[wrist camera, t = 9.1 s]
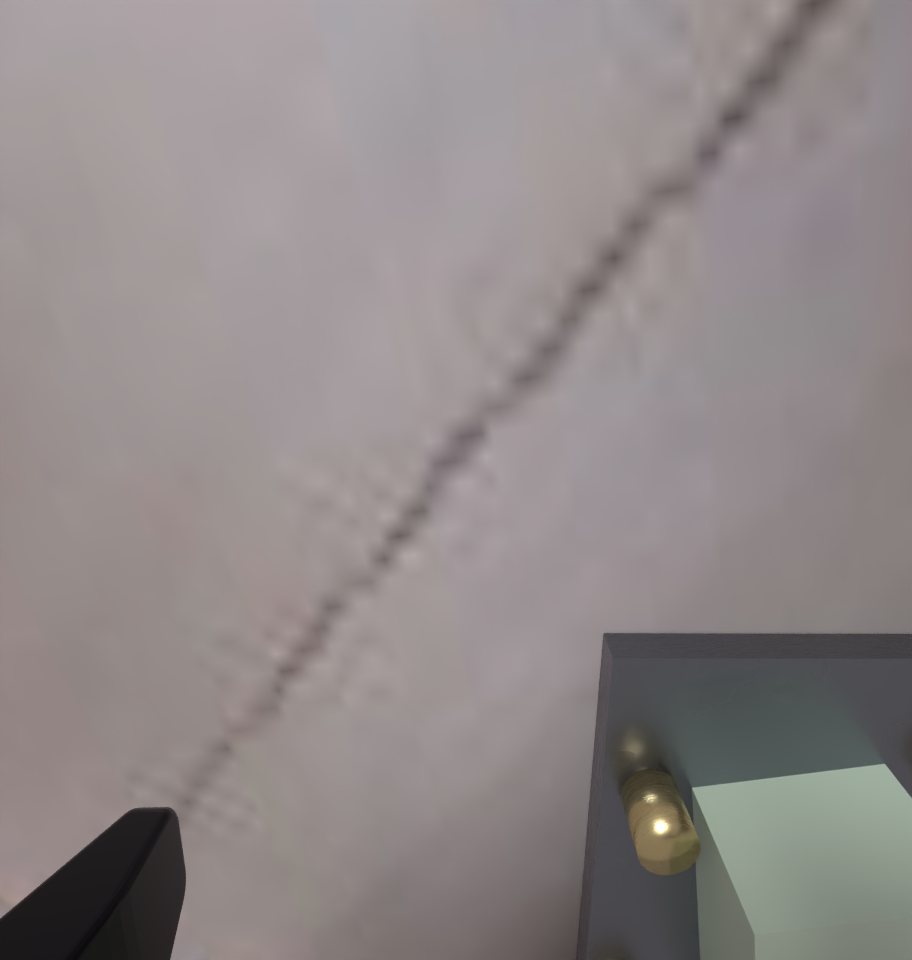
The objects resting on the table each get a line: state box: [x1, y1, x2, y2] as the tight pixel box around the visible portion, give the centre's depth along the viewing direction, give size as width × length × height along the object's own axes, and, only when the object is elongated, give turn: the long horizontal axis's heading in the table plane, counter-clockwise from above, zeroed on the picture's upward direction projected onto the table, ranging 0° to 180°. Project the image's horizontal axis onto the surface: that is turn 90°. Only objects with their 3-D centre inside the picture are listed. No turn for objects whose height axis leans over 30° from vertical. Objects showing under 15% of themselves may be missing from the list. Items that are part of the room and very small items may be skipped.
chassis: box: [576, 633, 912, 960], centre depth 23 cm, size 11×16×3 cm
